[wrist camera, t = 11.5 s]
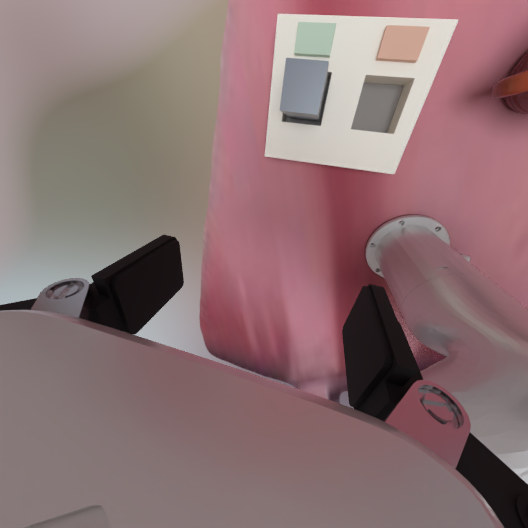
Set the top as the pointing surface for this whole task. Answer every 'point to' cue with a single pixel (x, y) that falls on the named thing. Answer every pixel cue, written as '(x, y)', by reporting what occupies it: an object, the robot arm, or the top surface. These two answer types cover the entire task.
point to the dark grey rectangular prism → (304, 88)
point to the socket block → (356, 87)
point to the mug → (514, 87)
